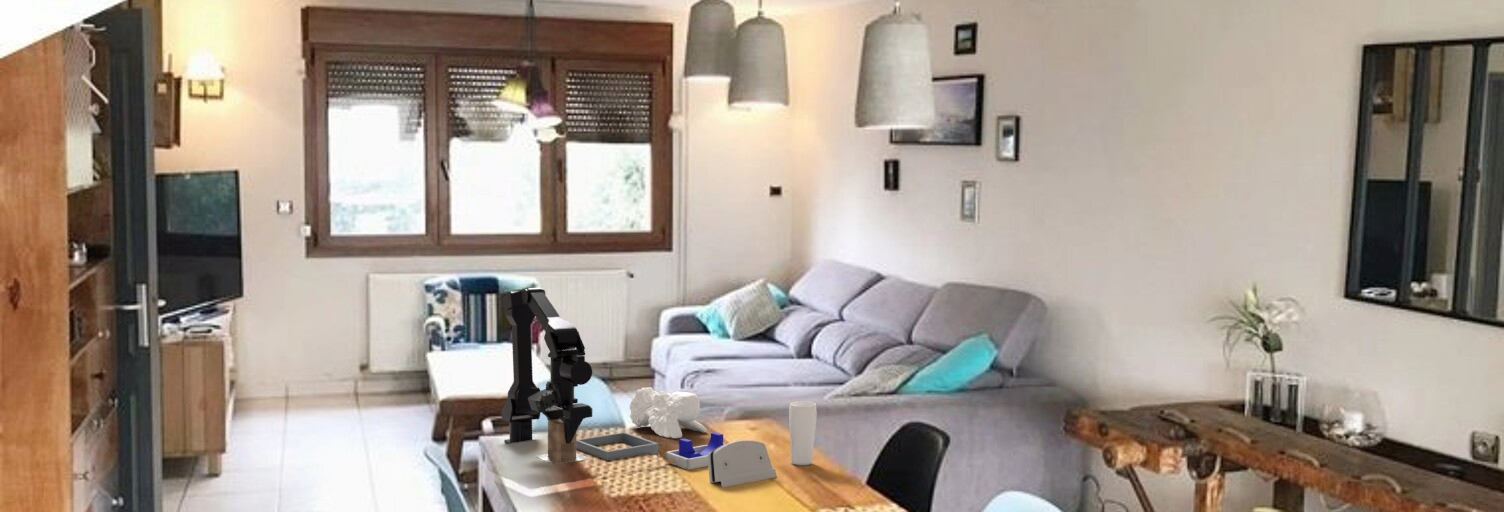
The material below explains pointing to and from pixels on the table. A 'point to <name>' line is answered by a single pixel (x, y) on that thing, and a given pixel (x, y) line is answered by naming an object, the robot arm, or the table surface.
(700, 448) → the clip organiser
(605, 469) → the table surface
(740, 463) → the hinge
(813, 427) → the drinking glass
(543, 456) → the stud plate
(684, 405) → the cherub figurine
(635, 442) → the tray
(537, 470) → the table surface
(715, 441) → the cable clip
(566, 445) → the wooden block
